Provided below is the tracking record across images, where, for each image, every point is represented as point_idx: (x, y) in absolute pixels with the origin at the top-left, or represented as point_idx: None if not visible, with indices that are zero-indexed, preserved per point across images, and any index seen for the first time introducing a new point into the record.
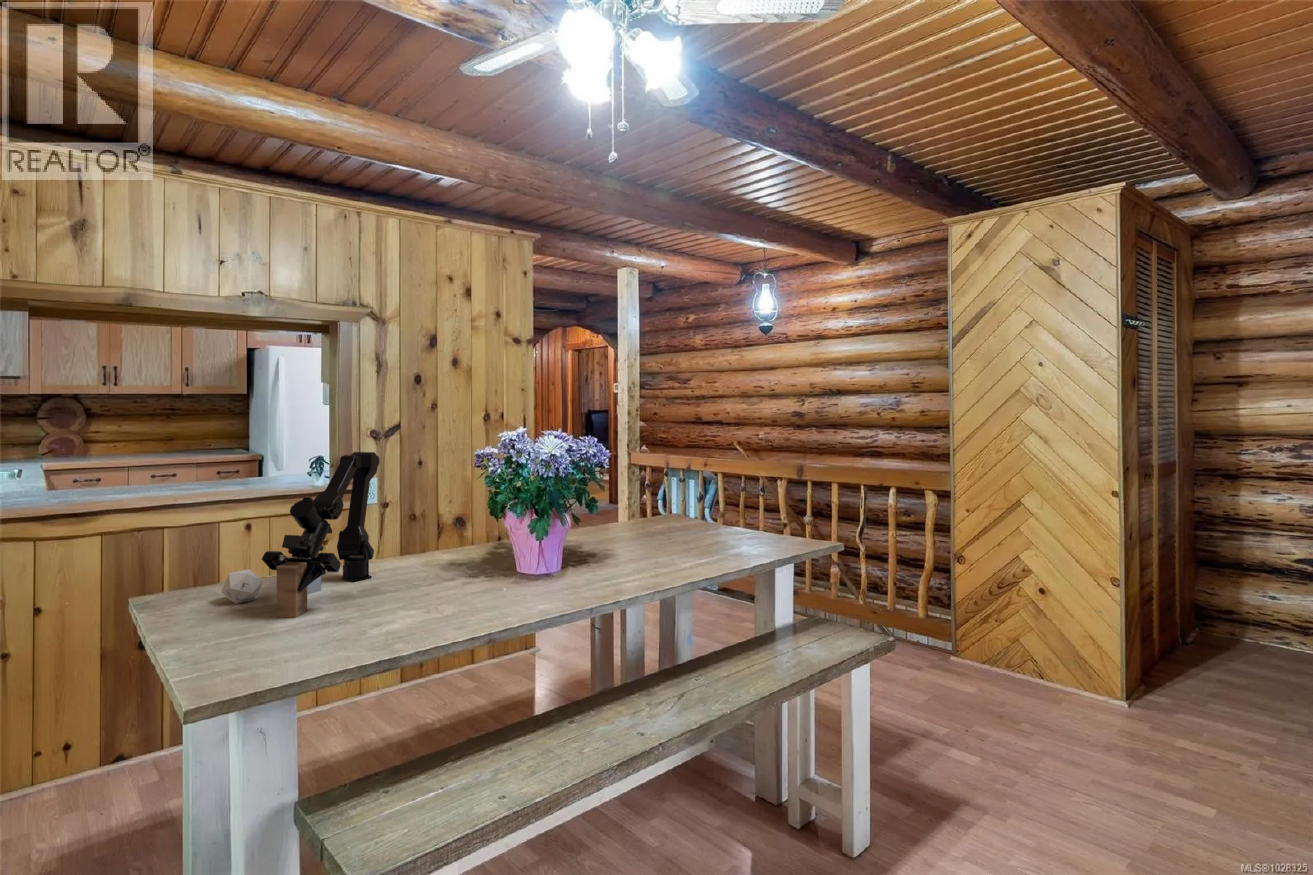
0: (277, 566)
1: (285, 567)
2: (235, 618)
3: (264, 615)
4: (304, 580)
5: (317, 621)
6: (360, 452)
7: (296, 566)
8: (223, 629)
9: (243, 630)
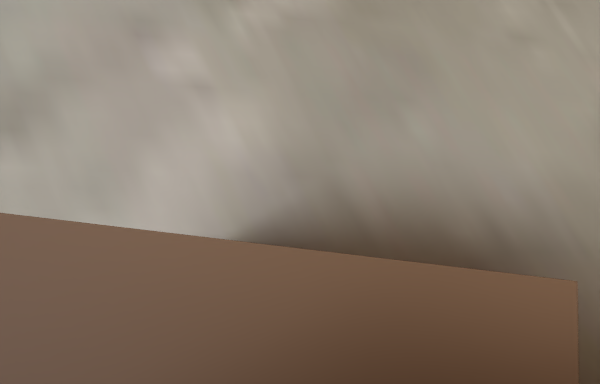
0: (564, 303)
1: (321, 253)
2: (542, 247)
3: None
4: None
5: (12, 182)
6: None
7: (8, 342)
8: (493, 73)
9: (386, 51)
